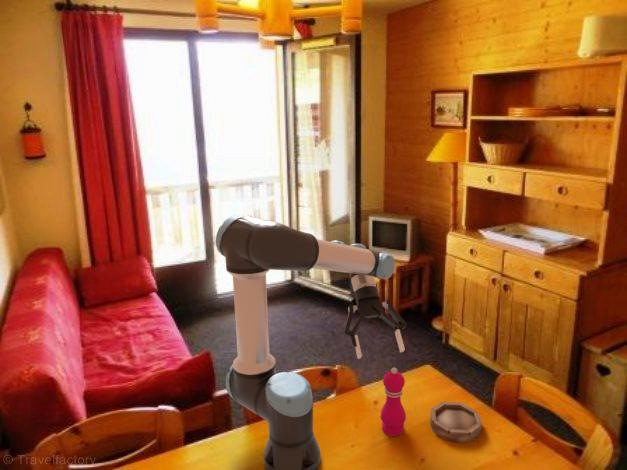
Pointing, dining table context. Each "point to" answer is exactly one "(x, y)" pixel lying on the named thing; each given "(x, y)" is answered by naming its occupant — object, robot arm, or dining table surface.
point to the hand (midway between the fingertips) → (381, 354)
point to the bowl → (455, 422)
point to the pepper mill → (393, 404)
